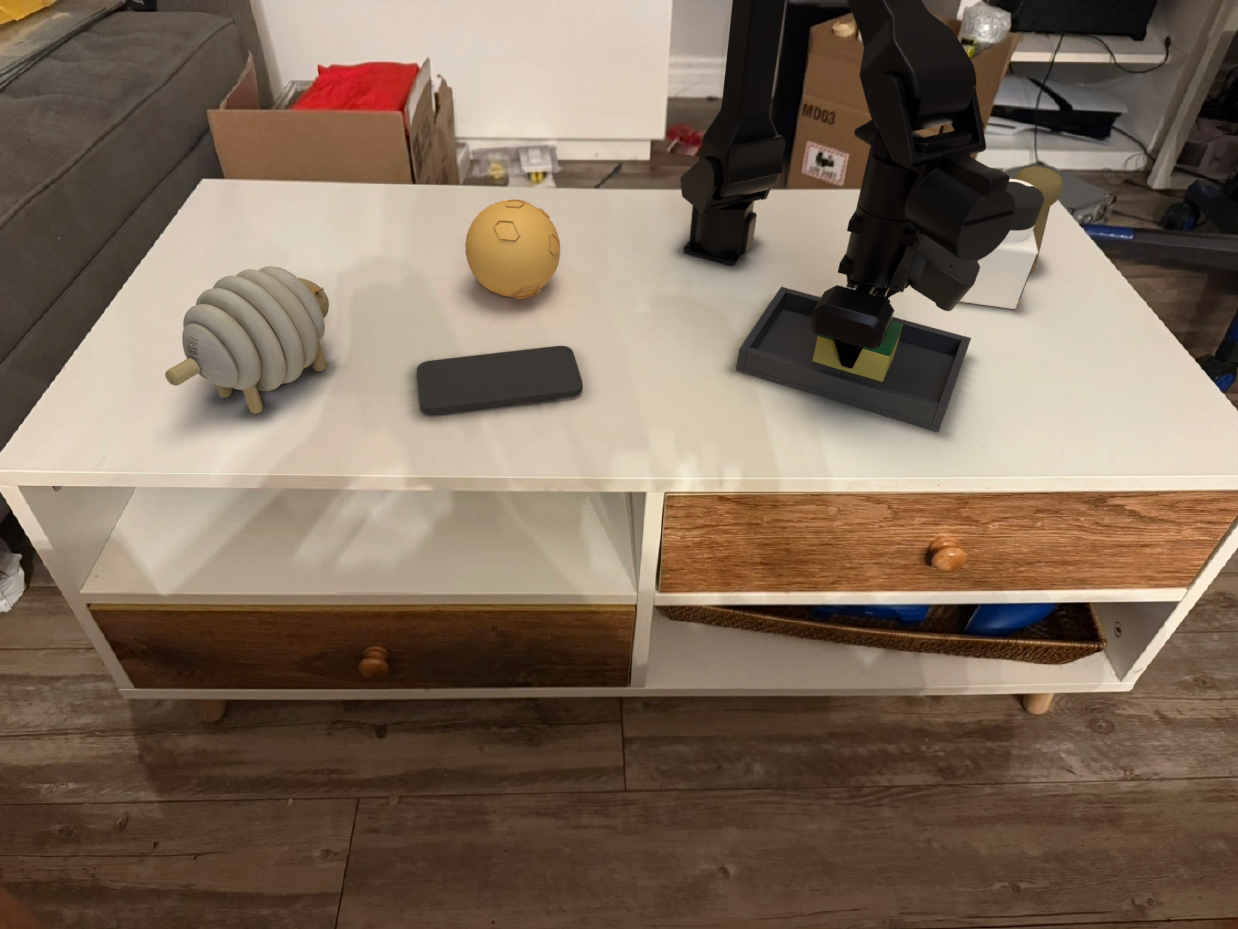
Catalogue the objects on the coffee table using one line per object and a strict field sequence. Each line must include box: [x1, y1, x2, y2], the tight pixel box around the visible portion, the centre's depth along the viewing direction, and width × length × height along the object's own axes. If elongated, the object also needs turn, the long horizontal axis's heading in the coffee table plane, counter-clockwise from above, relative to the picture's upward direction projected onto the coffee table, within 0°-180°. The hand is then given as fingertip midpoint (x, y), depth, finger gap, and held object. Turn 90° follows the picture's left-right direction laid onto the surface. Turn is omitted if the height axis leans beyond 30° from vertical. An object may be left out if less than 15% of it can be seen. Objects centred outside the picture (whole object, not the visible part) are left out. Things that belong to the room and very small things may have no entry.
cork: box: [1012, 166, 1064, 275], centre depth 99 cm, size 6×6×11 cm
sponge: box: [812, 321, 903, 382], centre depth 86 cm, size 7×4×4 cm, turn 64°
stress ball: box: [464, 198, 561, 300], centre depth 92 cm, size 10×10×10 cm
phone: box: [416, 345, 584, 415], centre depth 84 cm, size 7×1×15 cm
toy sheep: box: [164, 265, 330, 415], centre depth 79 cm, size 11×17×11 cm, turn 152°
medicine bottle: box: [958, 178, 1044, 310], centre depth 94 cm, size 7×7×12 cm
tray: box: [735, 286, 972, 433], centre depth 87 cm, size 20×13×3 cm, turn 64°
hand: (853, 353), depth 87 cm, fingers closed on sponge, 4 cm apart
